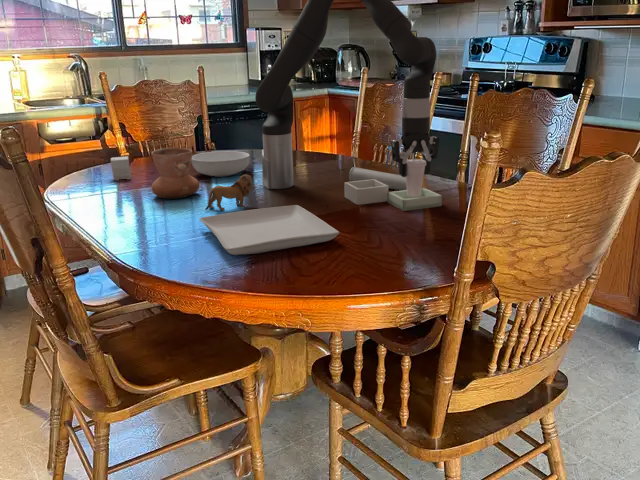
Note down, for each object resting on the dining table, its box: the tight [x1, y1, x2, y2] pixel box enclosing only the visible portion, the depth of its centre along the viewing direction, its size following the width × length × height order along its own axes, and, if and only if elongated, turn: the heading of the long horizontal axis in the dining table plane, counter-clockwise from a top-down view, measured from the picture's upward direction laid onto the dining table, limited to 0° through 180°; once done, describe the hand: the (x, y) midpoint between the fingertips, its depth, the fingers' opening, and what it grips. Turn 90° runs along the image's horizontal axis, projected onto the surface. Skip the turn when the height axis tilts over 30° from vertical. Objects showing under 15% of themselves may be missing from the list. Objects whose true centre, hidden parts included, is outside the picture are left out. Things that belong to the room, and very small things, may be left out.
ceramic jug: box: [151, 147, 200, 200], centre depth 183 cm, size 18×14×14 cm
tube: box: [348, 166, 407, 191], centre depth 188 cm, size 5×5×25 cm
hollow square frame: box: [344, 179, 389, 206], centre depth 174 cm, size 10×10×4 cm
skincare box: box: [110, 155, 132, 181], centre depth 210 cm, size 6×6×7 cm
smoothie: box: [405, 153, 427, 197], centre depth 165 cm, size 6×6×14 cm
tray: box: [386, 187, 443, 212], centre depth 168 cm, size 12×10×3 cm
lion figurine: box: [205, 174, 253, 211], centre depth 168 cm, size 15×5×9 cm, turn 119°
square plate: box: [199, 204, 340, 256], centre depth 144 cm, size 27×27×4 cm
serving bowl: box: [191, 150, 251, 178], centre depth 212 cm, size 21×21×7 cm
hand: (414, 175), depth 165 cm, fingers closed on smoothie, 6 cm apart
